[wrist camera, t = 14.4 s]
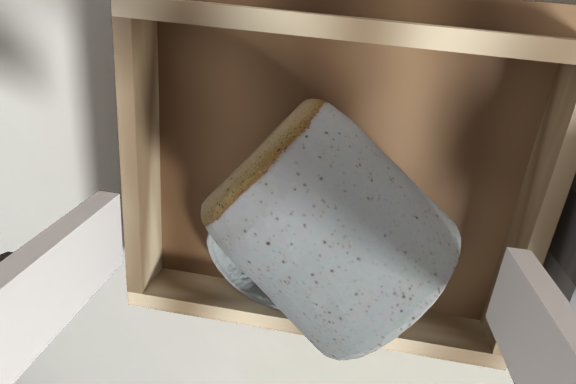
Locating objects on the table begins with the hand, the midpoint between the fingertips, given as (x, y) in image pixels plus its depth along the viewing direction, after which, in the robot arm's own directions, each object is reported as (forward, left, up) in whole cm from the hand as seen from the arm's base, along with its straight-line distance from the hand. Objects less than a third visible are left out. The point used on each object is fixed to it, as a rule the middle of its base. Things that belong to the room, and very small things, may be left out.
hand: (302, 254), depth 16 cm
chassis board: (+5, 0, -8) cm, 10 cm away
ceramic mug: (0, -1, -7) cm, 7 cm away
